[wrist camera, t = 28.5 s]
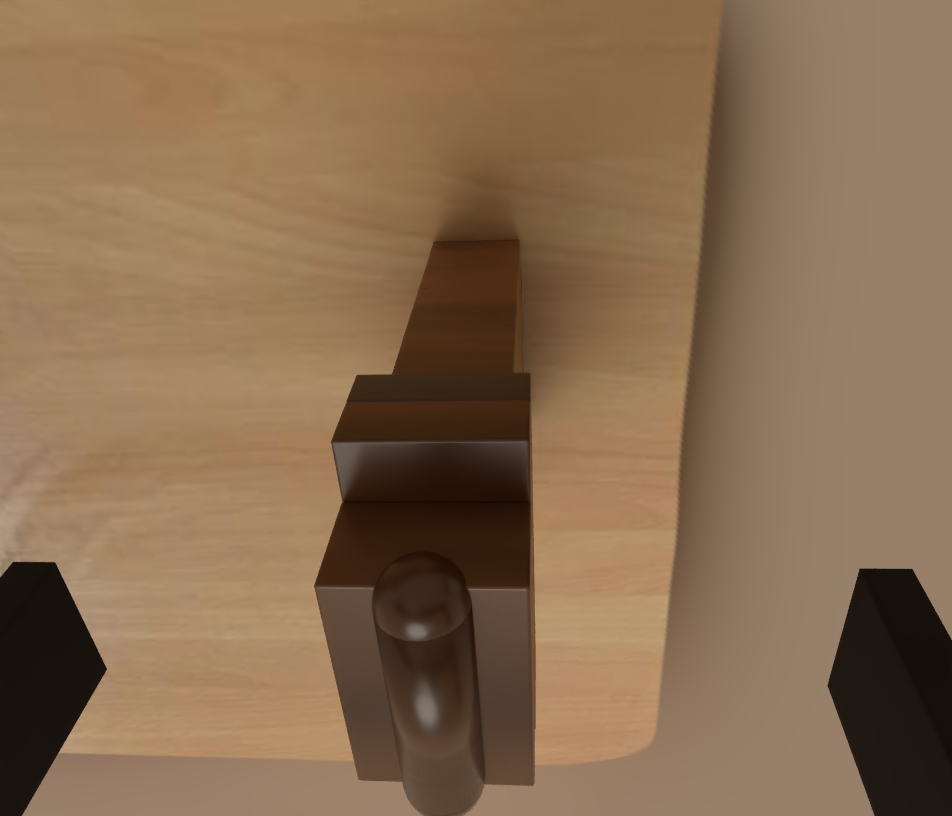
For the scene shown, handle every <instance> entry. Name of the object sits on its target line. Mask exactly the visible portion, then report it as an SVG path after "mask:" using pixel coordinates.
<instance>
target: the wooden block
mask: <svg viewBox="0 0 952 816" xmlns="http://www.w3.org/2000/svg"><path fill="white" fill-rule="evenodd" d="M465 373H524V367H523V324H522V281H521V242H520V240H494V241H458V242H434V243H433V246H432V249H431V252H430V256H429V259H428V262H427V265H426V268H425V271H424V275H423V278H422V281H421V284H420V287H419V290H418V294H417V297H416V300H415V303H414V306H413V309H412V313H411V316H410V319H409V322H408V325H407V328H406V332H405V335H404V338H403V341H402V344H401V347H400V350H399V354H398V357H397V360H396V363H395V366H394V369H393V373H392V374H465Z"/></svg>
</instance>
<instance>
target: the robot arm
mask: <svg viewBox="0 0 952 816" xmlns="http://www.w3.org/2000/svg"><path fill="white" fill-rule="evenodd" d="M106 670H107V668H106V666H105V664H104V662H103V660H102V658H101V656H100V654H99V652H98V650H97V648H96V646H95V644H94V641H93V639H92V637H91V635H90V633H89V631H88V629H87V627H86V625H85V623H84V621H83V619H82V617H81V615H80V613H79V611H78V608H77V606H76V604H75V602H74V600H73V598H72V596H71V594H70V592H69V590H68V588H67V586H66V584H65V582H64V580H63V578H62V576H61V573H60V571H59V569H58V567H57V565H56V563H55V562H13V563H12V564H11V565H10V566H9V568H8V569H7V570H6V571H5V573H4V574H3V575H2V576H1V577H0V816H22V814H23V813H24V811H25V809H26V808H27V806H28V804H29V802H30V801H31V799H32V797H33V796H34V794H35V792H36V790H37V789H38V787H39V785H40V784H41V782H42V780H43V778H44V777H45V775H46V773H47V771H48V770H49V768H50V766H51V765H52V763H53V761H54V759H55V758H56V756H57V754H58V753H59V751H60V749H61V748H62V746H63V744H64V742H65V741H66V739H67V737H68V735H69V734H70V732H71V730H72V729H73V727H74V725H75V723H76V722H77V720H78V718H79V717H80V715H81V713H82V711H83V710H84V708H85V706H86V705H87V703H88V701H89V699H90V698H91V696H92V694H93V693H94V691H95V689H96V687H97V686H98V684H99V682H100V680H101V679H102V677H103V675H104V674H105V672H106ZM828 688H829V690H830V694H831V696H832V699H833V701H834V704H835V707H836V710H837V713H838V716H839V718H840V721H841V724H842V727H843V729H844V732H845V735H846V738H847V740H848V743H849V746H850V749H851V752H852V754H853V757H854V760H855V763H856V765H857V768H858V771H859V774H860V776H861V779H862V782H863V785H864V787H865V790H866V793H867V796H868V799H869V801H870V804H871V807H872V810H873V812H874V815H875V816H952V640H951V638H950V636H949V634H948V633H947V631H946V629H945V627H944V625H943V624H942V622H941V620H940V618H939V616H938V615H937V613H936V611H935V609H934V607H933V606H932V604H931V602H930V600H929V598H928V597H927V595H926V593H925V591H924V589H923V588H922V586H921V584H920V582H919V580H918V578H917V577H916V575H915V573H914V571H913V569H859V573H858V577H857V580H856V584H855V588H854V591H853V595H852V599H851V603H850V606H849V609H848V613H847V617H846V620H845V624H844V628H843V631H842V635H841V638H840V642H839V646H838V650H837V653H836V657H835V660H834V664H833V667H832V671H831V675H830V678H829V682H828Z"/></svg>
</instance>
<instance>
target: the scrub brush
mask: <svg viewBox="0 0 952 816" xmlns="http://www.w3.org/2000/svg"><path fill="white" fill-rule="evenodd" d="M331 444H332V449H333V454H334V460H335V465H336V471H337V476H338V481H339V487H340V492H341V497H342V504H341V507H340V510H339V513H338V516H337V519H336V522H335V525H334V528H333V531H332V534H331V537H330V540H329V543H328V546H327V549H326V552H325V555H324V558H323V561H322V564H321V567H320V570H319V573H318V576H317V579H316V582H315V585H314V587H315V592H316V596H317V600H318V605H319V609H320V614H321V618H322V622H323V627H324V631H325V635H326V640H327V644H328V649H329V653H330V657H331V662H332V666H333V670H334V675H335V679H336V683H337V688H338V692H339V697H340V701H341V705H342V710H343V714H344V718H345V723H346V727H347V732H348V736H349V740H350V745H351V749H352V753H353V758H354V762H355V766H356V771H357V775H358V779H359V780H364V781H396V782H403V787H404V790H405V793H406V795H407V798H408V800H409V802H410V803H411V805H412V806H413V807H414V808H415V809H416V810H417V811H418V812H419V813H420V814H422V815H423V816H463V815H465V814H466V813H467V812H469V811H470V810H471V809H472V808H473V807H474V806H475V805H476V803H477V801H478V800H479V798H480V796H481V794H482V791H483V788H484V784H492V785H522V786H532V785H534V782H535V778H534V776H535V774H534V772H535V771H534V769H535V723H536V644H535V588H534V533H533V478H532V423H531V374H530V373H465V374H392V375H357V376H356V378H355V381H354V384H353V386H352V389H351V391H350V394H349V396H348V399H347V403H346V405H345V407H344V410H343V412H342V415H341V418H340V420H339V423H338V425H337V428H336V430H335V433H334V435H333V438H332V441H331Z"/></svg>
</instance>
